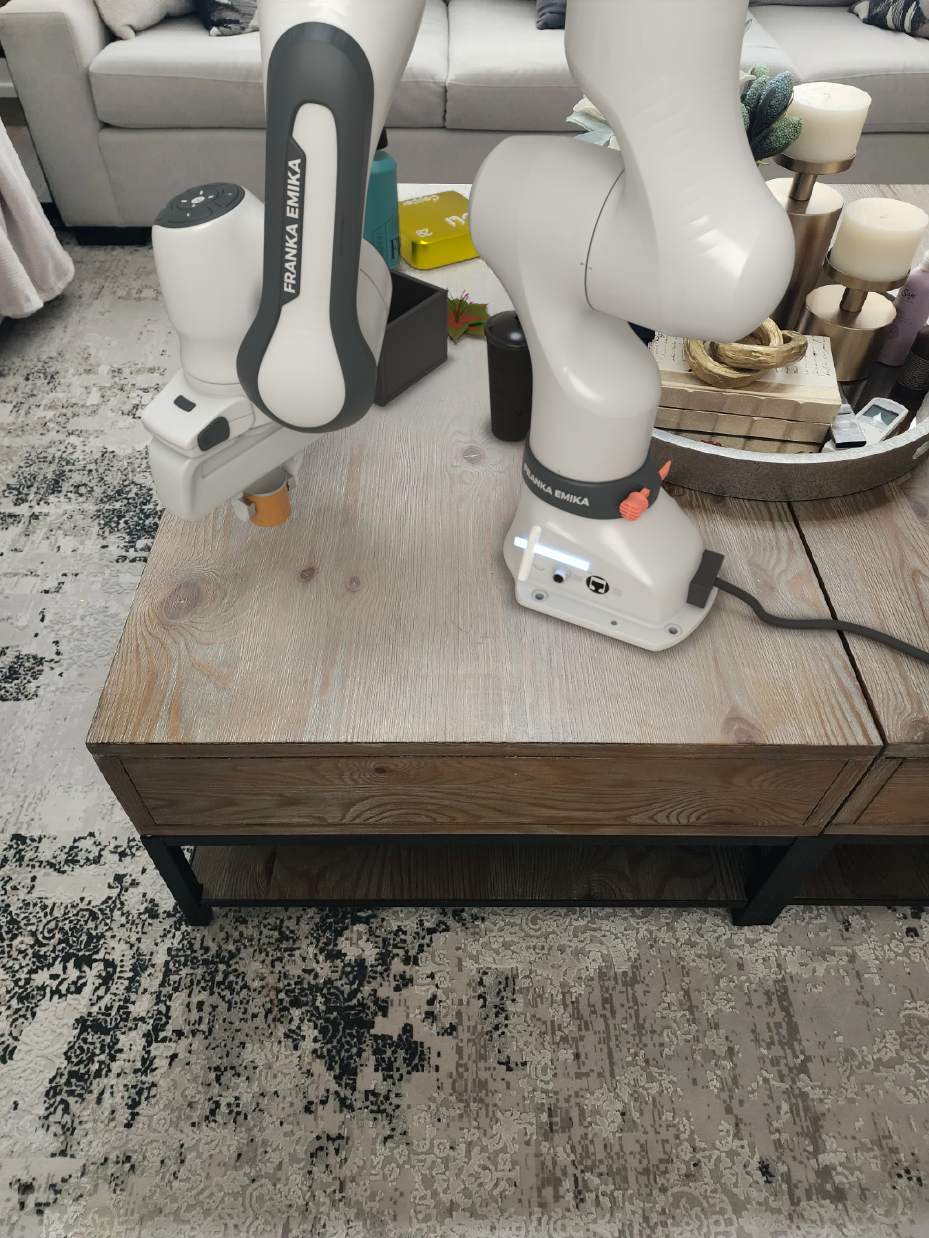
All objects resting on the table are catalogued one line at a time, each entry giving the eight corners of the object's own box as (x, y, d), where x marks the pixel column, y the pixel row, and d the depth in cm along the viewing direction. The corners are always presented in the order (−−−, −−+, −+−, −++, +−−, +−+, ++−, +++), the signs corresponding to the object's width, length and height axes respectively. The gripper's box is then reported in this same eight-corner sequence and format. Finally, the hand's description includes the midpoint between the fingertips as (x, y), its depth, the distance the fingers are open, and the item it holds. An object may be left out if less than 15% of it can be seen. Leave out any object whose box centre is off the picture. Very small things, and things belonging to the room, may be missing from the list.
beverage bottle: (396, 284, 126) (390, 139, 111) (353, 279, 127) (341, 134, 112) (407, 264, 131) (402, 121, 116) (365, 259, 131) (355, 117, 116)
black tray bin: (447, 359, 113) (448, 290, 106) (382, 406, 106) (378, 335, 99) (361, 323, 119) (356, 254, 112) (294, 365, 112) (283, 295, 104)
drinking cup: (469, 438, 102) (474, 279, 87) (495, 405, 107) (503, 249, 92) (527, 456, 100) (543, 297, 85) (551, 422, 105) (570, 264, 90)
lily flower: (498, 347, 116) (500, 316, 112) (410, 344, 116) (409, 313, 112) (499, 303, 123) (500, 273, 120) (417, 300, 123) (416, 269, 120)
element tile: (454, 214, 142) (454, 185, 139) (501, 251, 134) (503, 221, 130) (374, 233, 137) (372, 203, 134) (418, 273, 129) (417, 241, 125)
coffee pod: (302, 510, 87) (296, 476, 83) (268, 535, 84) (260, 501, 81) (271, 490, 88) (263, 456, 85) (236, 514, 86) (227, 480, 83)
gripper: (301, 321, 81) (320, 438, 91) (123, 424, 71) (166, 541, 81) (349, 345, 78) (362, 462, 89) (171, 455, 68) (209, 572, 79)
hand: (267, 501), depth 85 cm, fingers closed on coffee pod, 4 cm apart
